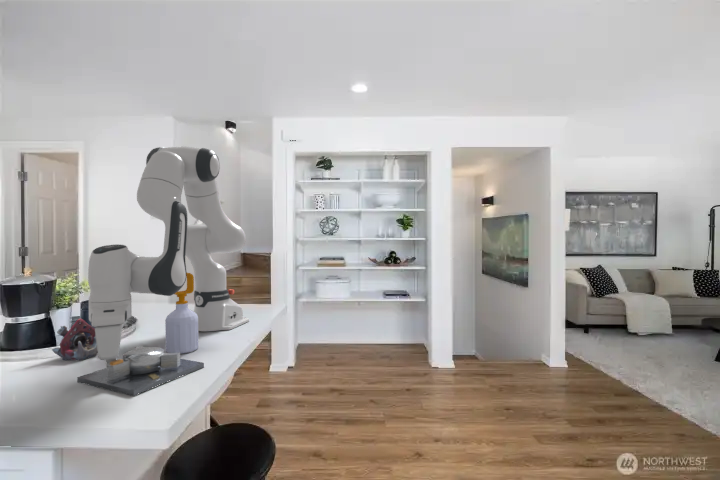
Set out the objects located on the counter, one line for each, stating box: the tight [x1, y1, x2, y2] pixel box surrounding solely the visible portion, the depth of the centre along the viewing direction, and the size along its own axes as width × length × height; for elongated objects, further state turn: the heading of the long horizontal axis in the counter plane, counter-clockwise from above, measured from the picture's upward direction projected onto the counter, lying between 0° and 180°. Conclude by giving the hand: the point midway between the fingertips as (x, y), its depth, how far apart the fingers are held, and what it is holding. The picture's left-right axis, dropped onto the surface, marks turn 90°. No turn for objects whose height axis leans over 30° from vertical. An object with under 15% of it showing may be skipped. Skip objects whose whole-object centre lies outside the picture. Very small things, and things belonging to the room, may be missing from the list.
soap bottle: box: [164, 271, 199, 355], centre depth 119 cm, size 9×9×25 cm
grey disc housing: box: [108, 345, 181, 379], centre depth 97 cm, size 14×16×4 cm
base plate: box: [76, 358, 205, 397], centre depth 99 cm, size 20×20×1 cm
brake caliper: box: [51, 318, 98, 361], centre depth 114 cm, size 11×11×12 cm
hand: (111, 367), depth 95 cm, fingers closed
